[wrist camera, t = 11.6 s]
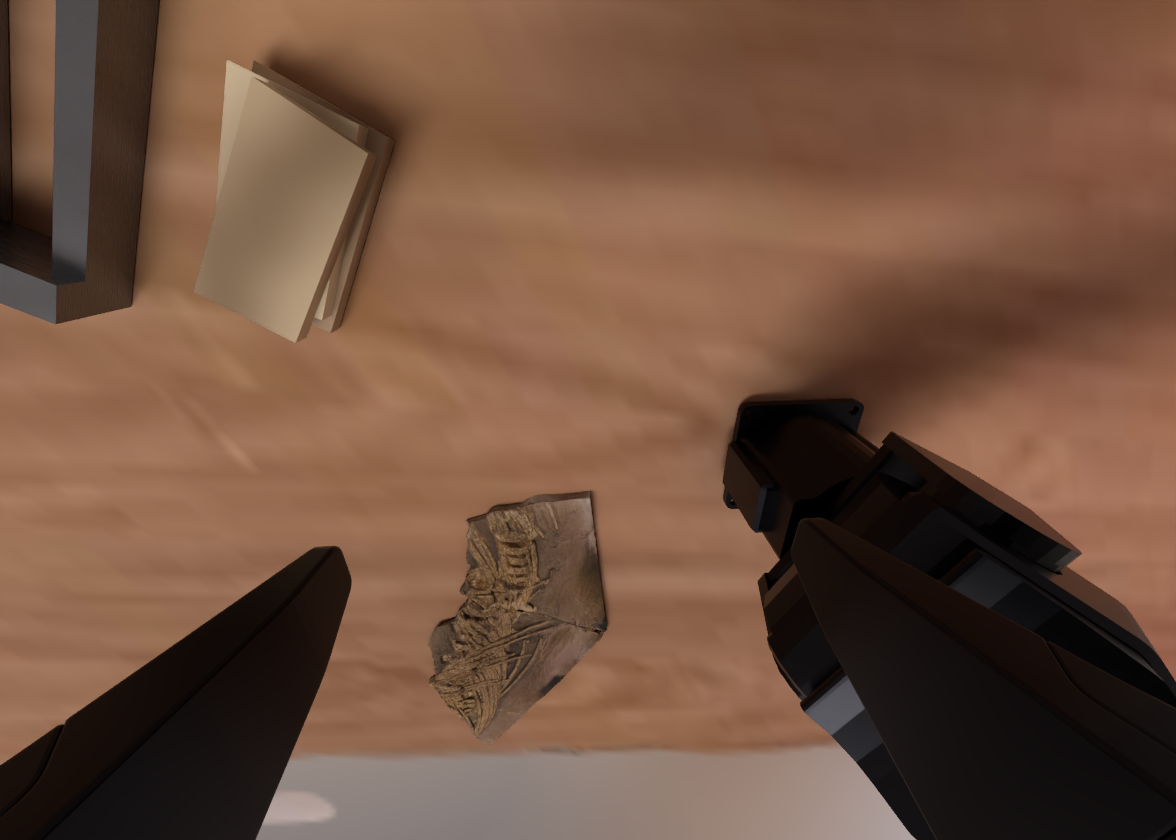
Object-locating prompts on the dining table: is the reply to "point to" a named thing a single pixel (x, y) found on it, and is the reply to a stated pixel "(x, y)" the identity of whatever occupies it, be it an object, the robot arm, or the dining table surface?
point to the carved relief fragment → (520, 611)
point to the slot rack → (84, 163)
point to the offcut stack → (289, 204)
